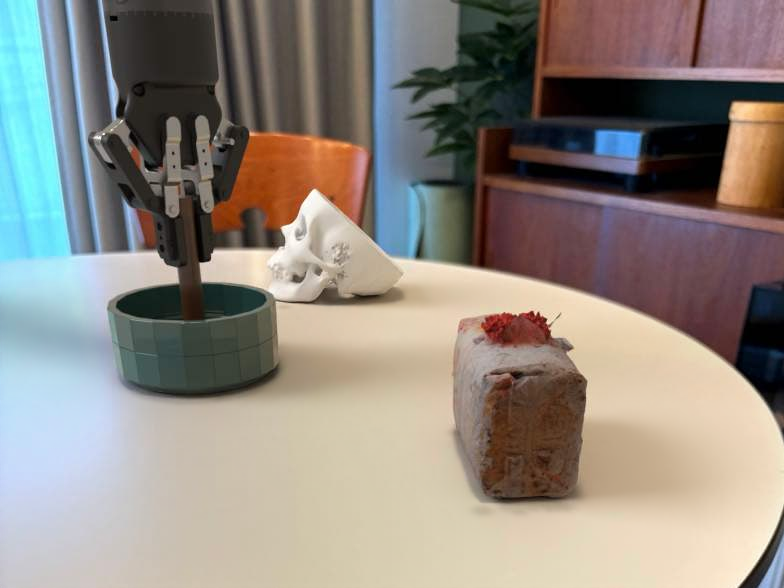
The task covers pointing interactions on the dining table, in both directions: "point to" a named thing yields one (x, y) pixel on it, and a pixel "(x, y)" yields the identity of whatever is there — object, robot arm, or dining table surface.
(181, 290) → the brown masher
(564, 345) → the food item
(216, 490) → the dining table surface
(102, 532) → the dining table surface
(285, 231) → the skull bowl
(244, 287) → the mixing bowl
